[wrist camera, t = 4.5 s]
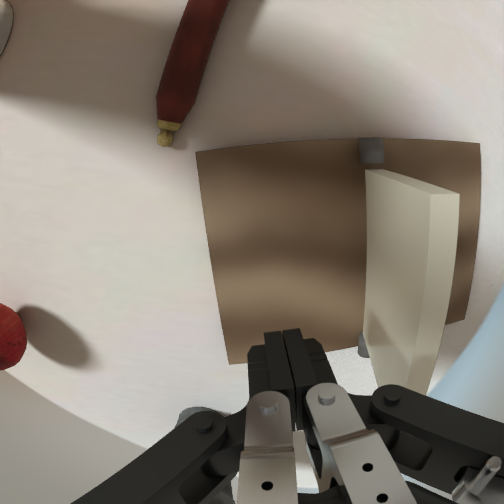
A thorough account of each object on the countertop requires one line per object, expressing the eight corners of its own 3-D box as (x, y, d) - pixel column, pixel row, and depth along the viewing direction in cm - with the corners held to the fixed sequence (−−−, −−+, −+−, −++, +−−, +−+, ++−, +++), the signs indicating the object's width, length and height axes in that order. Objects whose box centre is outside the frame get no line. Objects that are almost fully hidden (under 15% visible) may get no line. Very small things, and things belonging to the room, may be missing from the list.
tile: (430, 194, 9) (463, 194, 9) (365, 169, 18) (384, 169, 18) (390, 437, 13) (414, 433, 12) (362, 334, 22) (379, 332, 22)
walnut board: (197, 152, 20) (191, 152, 17) (472, 142, 20) (494, 144, 17) (229, 357, 25) (228, 379, 22) (458, 314, 25) (474, 328, 22)
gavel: (237, 168, 17) (80, 135, 16) (238, 161, 22) (109, 133, 20) (322, -92, 10) (185, -112, 9) (311, -63, 14) (192, -83, 13)
